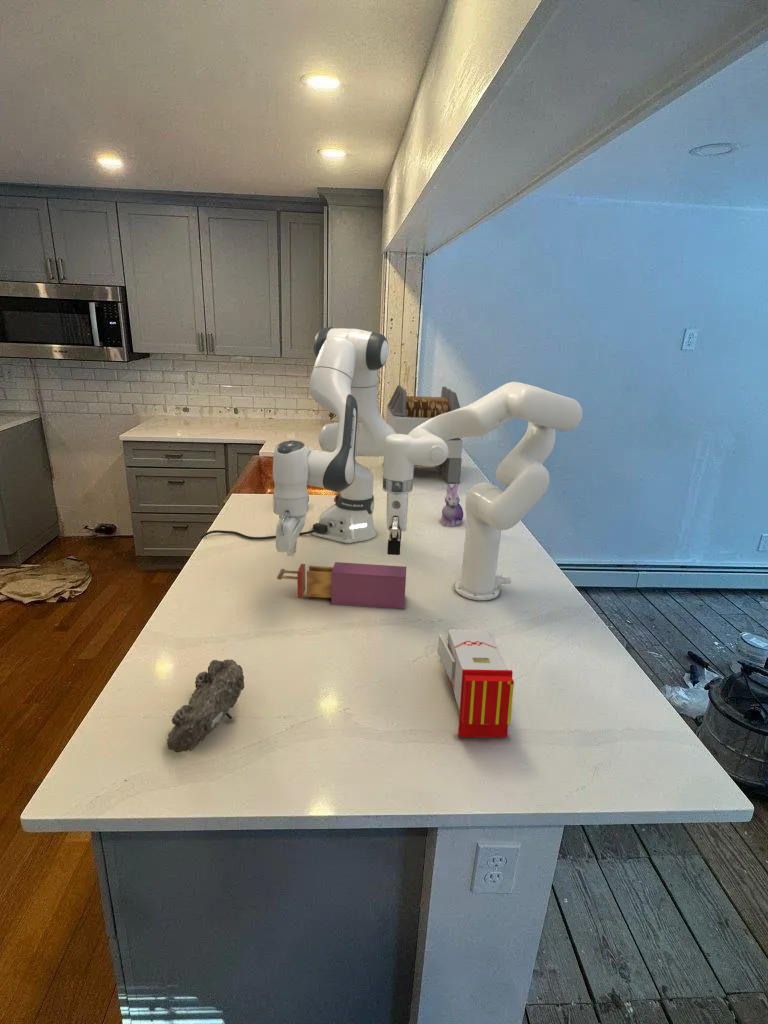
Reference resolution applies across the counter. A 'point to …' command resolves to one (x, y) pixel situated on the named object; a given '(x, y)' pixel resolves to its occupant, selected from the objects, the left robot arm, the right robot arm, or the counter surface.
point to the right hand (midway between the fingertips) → (394, 546)
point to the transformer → (417, 410)
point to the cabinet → (368, 585)
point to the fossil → (206, 705)
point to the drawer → (311, 580)
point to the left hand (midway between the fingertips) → (291, 554)
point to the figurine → (452, 507)
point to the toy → (478, 682)
